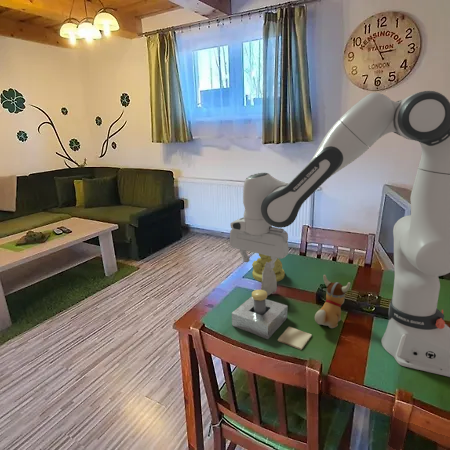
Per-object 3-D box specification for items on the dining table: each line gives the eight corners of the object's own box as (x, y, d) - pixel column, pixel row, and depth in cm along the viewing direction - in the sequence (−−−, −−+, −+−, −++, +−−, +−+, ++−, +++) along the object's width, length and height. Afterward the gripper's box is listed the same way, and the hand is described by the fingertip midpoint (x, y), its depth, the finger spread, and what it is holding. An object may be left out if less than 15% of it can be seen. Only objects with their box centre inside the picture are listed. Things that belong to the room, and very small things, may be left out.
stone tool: (263, 301, 127) (262, 265, 123) (258, 298, 130) (257, 263, 125) (279, 293, 132) (278, 259, 127) (273, 290, 134) (273, 257, 130)
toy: (352, 317, 114) (355, 278, 109) (330, 339, 104) (333, 297, 99) (326, 307, 120) (328, 270, 116) (304, 327, 110) (305, 287, 106)
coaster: (311, 335, 106) (311, 334, 105) (301, 349, 100) (301, 348, 99) (288, 328, 110) (288, 326, 110) (277, 340, 104) (277, 339, 104)
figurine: (246, 277, 148) (244, 246, 143) (264, 265, 158) (263, 236, 153) (273, 286, 138) (273, 253, 134) (290, 273, 149) (291, 242, 144)
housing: (287, 318, 116) (287, 305, 114) (267, 339, 105) (267, 326, 104) (253, 306, 124) (253, 295, 122) (232, 325, 113) (231, 313, 112)
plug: (270, 320, 115) (269, 292, 112) (262, 328, 111) (262, 298, 108) (257, 316, 118) (256, 288, 115) (249, 323, 114) (248, 294, 111)
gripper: (292, 226, 100) (291, 267, 104) (237, 217, 112) (238, 255, 116) (283, 232, 95) (282, 275, 99) (226, 222, 107) (228, 261, 111)
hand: (258, 264), depth 108 cm, fingers open, 8 cm apart
